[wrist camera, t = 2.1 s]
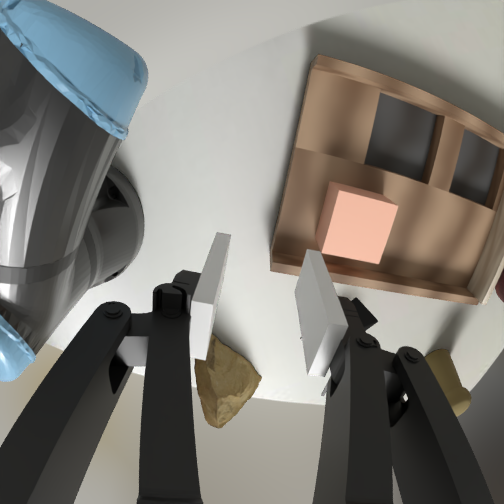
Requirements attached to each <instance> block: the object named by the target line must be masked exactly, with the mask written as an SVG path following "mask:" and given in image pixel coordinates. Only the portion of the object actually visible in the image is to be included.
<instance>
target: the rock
mask: <svg viewBox="0 0 504 504" xmlns="http://www.w3.org/2000/svg"><path fill="white" fill-rule="evenodd" d="M194 369H195V376H196V384H197V390H198V395H199V397H200V399H201V405H202V409H203V413H204V416H205V419H206V421H207V422H208V424H210V425H211V426H213V427H216V428H222V427H223V426H224V425H225V424H226V423H227V422H228V421H230V420H231V419H232V418H233V417H234V416H235V415H236V414H237V413H238V412H239V410H240V409H241V408H242V407H243V405H244V404H245V403H246V402H247V400H249V399H250V398H251V397H252V395H253V394H254V392H255V390H256V389H257V387H258V385H259V382H260V381H261V379H262V377H261V376H259V375H258V374H257V372H256V371H255V370H254V367H253V366H252V365H251V363H250V362H248V361H247V360H246V359H245V358H244V357H243V356H241V355H239V354H238V353H236V352H234V351H233V350H231V348H229V347H228V346H226V345H223V344H222V343H221V342H220V341H219V340H218V339H217V337H216V336H214V335H213V334H211V338H210V342H209V347H208V351H207V356H206V360H201V359H196V358H195V366H194Z"/></svg>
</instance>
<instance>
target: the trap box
mask: <svg viewBox="0 0 504 504" xmlns="http://www.w3.org/2000/svg"><path fill="white" fill-rule="evenodd" d="M330 181H331V182H336V183H340V184H344V185H348V186H352V187H355V188H359V189H363V190H367V191H371V192H374V193H378V194H382V195H384V196H386V197H387V198H388V199H390V200H391V201H392V202H394V203H395V204H397V205H398V209H397V213H396V216H395V219H394V222H393V225H392V228H391V231H390V234H389V237H388V240H387V243H386V246H385V248H384V251H383V254H382V257H381V259H380V262H379V264H376V263H370V262H365V261H360V260H355V259H350V258H345V257H340V256H335V255H329V254H324V253H321V255H322V257H323V260H324V262H325V265H326V267H327V270H328V272H329V275H330V278H331V280H332V282H336V283H341V284H347V285H353V286H359V287H365V288H371V289H377V290H383V291H390V292H396V293H402V294H408V295H414V296H421V297H427V298H433V299H440V300H446V301H453V302H459V303H466V304H472V305H477V304H478V302H480V303H481V304H484V305H486V304H487V302H488V300H489V298H490V296H491V294H492V292H493V290H494V288H495V286H496V283H497V281H498V279H499V277H500V275H501V272H502V270H503V268H504V134H503V133H502V132H500V131H499V130H497V129H495V128H494V127H492V126H491V125H489V124H487V123H486V122H484V121H482V120H480V119H479V118H477V117H475V116H473V115H472V114H470V113H468V112H466V111H464V110H462V109H460V108H458V107H457V106H455V105H453V104H451V103H449V102H447V101H445V100H443V99H441V98H438V97H436V96H434V95H432V94H430V93H428V92H425V91H423V90H421V89H419V88H416V87H414V86H412V85H409V84H407V83H404V82H402V81H400V80H397V79H394V78H392V77H389V76H387V75H384V74H381V73H378V72H376V71H373V70H370V69H367V68H364V67H361V66H358V65H355V64H351V63H348V62H345V61H342V60H338V59H335V58H331V57H327V56H324V55H320V54H318V55H317V56H316V57H315V59H314V60H313V61H312V62H311V64H310V69H309V74H308V79H307V84H306V89H305V93H304V98H303V103H302V108H301V113H300V117H299V122H298V127H297V131H296V136H295V141H294V145H293V150H292V155H291V159H290V164H289V168H288V173H287V177H286V182H285V187H284V191H283V196H282V200H281V204H280V209H279V213H278V218H277V222H276V227H275V231H274V235H273V240H272V244H271V248H270V271H273V272H278V273H284V274H289V275H295V276H299V275H300V272H301V268H302V265H303V261H304V258H305V254H306V251H307V249H310V250H315V251H320V248H319V246H318V243H317V241H316V238H315V235H316V231H317V227H318V224H319V220H320V216H321V213H322V209H323V205H324V201H325V197H326V193H327V190H328V186H329V182H330ZM320 252H321V251H320Z"/></svg>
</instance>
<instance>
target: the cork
mask: <svg viewBox="0 0 504 504" xmlns="http://www.w3.org/2000/svg"><path fill="white" fill-rule="evenodd" d="M425 359H426V361H427V363H428V365H429V366H430V368H431V370H432V372H433V374H434V375H435V377H436V379H437V381H438V383H439V384H440V386H441V388H442V390H443V392H444V394H445V396H446V398H447V400H448V401H449V403H450V405H451V407H452V409H453V411H454V413H455V415H456V417H457V416H459V415H460V414H462V413H463V412H464V411H466V410H467V408H468V407H469V405H470V404H471V395H470V393H469V391H468V390H467V389H466V388H464V387H462V385H461V382H460V379H459V376H458V374H457V371H456V369H455V366H454V364H453V361H452V359H451V356H450V354H449V352H448V350H445V349H438V350H435V351H433V352H431V353H430V354H428V355H427V356H426V357H425Z"/></svg>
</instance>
